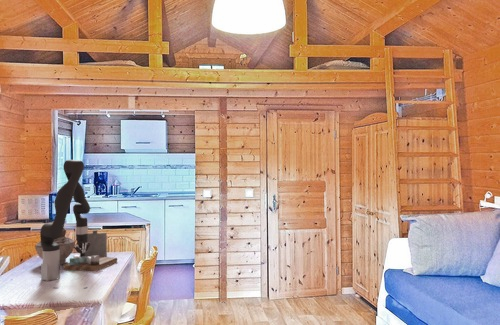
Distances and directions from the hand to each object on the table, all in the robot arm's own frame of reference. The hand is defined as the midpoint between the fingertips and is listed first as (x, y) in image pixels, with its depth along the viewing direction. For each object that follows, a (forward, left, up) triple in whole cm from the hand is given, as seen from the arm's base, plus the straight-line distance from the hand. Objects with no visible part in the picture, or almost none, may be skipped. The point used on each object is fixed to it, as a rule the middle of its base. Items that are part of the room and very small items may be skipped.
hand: (82, 258), depth 270 cm
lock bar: (-3, -8, -2) cm, 8 cm away
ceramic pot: (-5, +22, -5) cm, 23 cm away
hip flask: (+21, +13, -5) cm, 25 cm away
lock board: (+2, -6, -5) cm, 8 cm away
